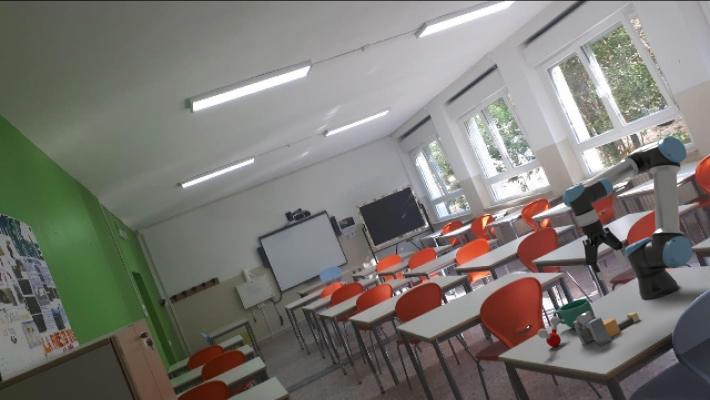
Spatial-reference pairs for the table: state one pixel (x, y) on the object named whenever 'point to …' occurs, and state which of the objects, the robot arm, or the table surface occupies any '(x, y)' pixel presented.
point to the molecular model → (551, 338)
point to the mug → (573, 311)
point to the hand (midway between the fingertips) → (613, 272)
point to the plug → (614, 327)
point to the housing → (591, 329)
